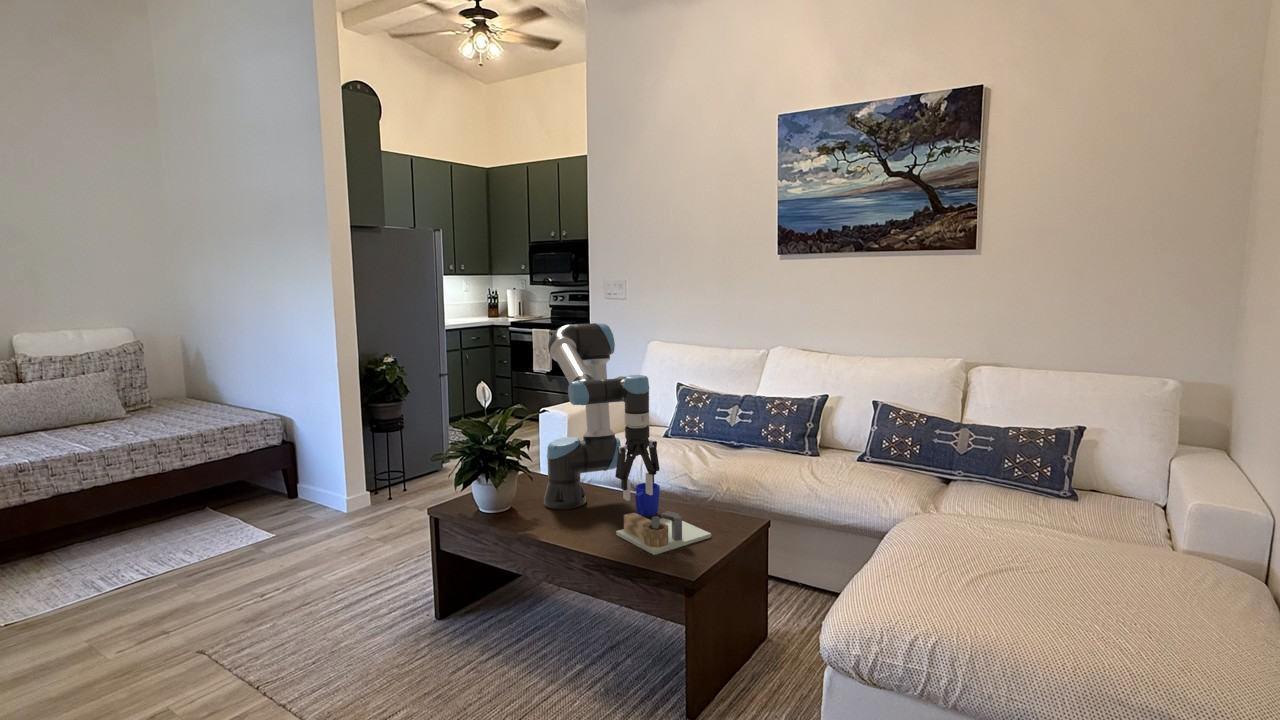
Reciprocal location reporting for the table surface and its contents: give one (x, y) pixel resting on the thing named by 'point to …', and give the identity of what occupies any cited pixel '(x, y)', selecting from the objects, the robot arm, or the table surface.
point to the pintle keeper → (675, 524)
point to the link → (646, 530)
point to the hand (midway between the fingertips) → (638, 496)
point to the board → (688, 537)
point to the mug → (647, 500)
